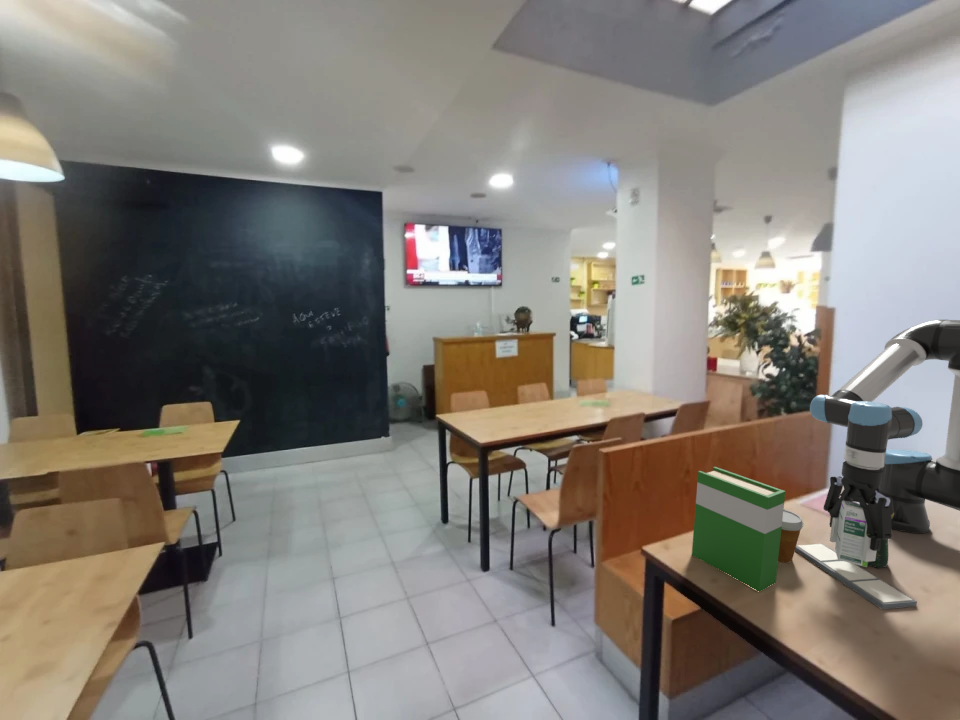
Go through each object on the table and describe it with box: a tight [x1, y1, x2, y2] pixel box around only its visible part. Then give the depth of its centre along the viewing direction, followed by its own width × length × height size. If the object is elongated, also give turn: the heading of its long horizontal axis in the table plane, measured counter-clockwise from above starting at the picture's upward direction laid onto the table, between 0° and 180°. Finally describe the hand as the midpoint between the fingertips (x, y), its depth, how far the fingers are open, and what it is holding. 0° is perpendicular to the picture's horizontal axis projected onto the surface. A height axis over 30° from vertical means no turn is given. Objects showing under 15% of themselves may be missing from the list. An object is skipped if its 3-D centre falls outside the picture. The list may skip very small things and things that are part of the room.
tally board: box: [794, 543, 918, 610], centre depth 110 cm, size 9×24×1 cm, turn 7°
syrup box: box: [834, 500, 870, 568], centre depth 108 cm, size 6×6×14 cm
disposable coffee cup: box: [778, 508, 805, 563], centre depth 117 cm, size 10×10×12 cm
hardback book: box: [691, 466, 786, 593], centre depth 111 cm, size 18×7×24 cm, turn 29°
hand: (851, 550), depth 109 cm, fingers closed on syrup box, 8 cm apart
